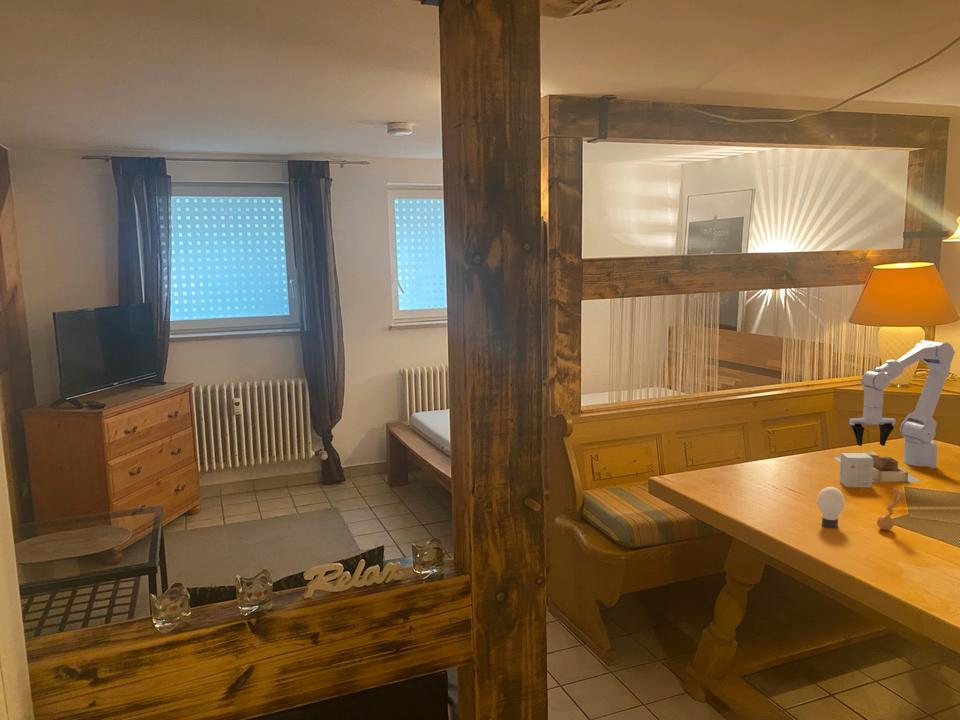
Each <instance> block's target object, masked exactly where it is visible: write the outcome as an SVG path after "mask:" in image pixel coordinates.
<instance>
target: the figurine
mask: <svg viewBox="0 0 960 720" xmlns="http://www.w3.org/2000/svg"><path fill="white" fill-rule="evenodd" d="M892 493H893V496H892V500H891V501H892V502H889V504H887V507H886V510H887V511H888V512H889V513H887V514H885V515H880V516H879V517H878V518H877V520H876V524H877V527H878V528H879V529H880V530H882V531H890V530H892V529H893V528H894V525H895V523H894V520H893V518H891V516H892V515H893V511H894V510H893V509H894V508H895V507H897V505H898V504H899V503H900V502H901V501H902V500H903V499H904V497H905V492H903V491H901V490H899V489H897V488H893V490H892Z"/></svg>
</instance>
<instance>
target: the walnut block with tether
mask: <svg viewBox="0 0 960 720" xmlns="http://www.w3.org/2000/svg"><path fill="white" fill-rule="evenodd" d="M861 453H866V454H868V455H869V456H871V457H873V467H874V468H875V469H877V470H879V471H898V467H899V461H898V460H896V459H894V458H893V457H890V456H887V457H886V456H885V457H883V456H882V457H880V454H878V453H876V452H875V451H861Z"/></svg>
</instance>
